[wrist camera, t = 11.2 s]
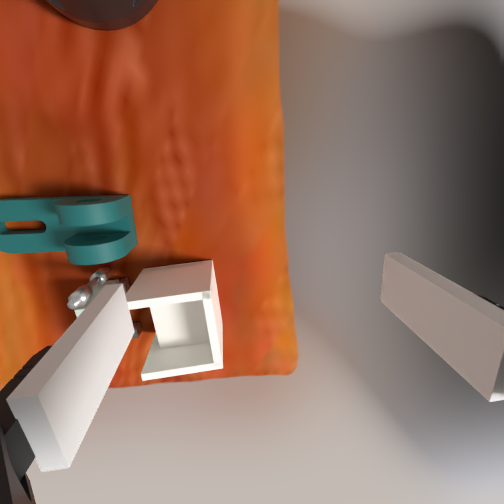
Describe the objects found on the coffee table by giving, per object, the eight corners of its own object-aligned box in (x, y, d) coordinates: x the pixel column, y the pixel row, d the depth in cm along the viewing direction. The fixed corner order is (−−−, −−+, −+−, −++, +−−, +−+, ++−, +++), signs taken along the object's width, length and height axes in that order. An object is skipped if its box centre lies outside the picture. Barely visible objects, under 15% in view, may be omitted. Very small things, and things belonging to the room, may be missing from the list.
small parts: (86, 266, 40) (45, 301, 30) (123, 261, 40) (93, 294, 31) (108, 334, 44) (77, 384, 34) (141, 329, 44) (120, 377, 34)
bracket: (130, 194, 37) (108, 204, 30) (138, 243, 40) (119, 263, 32) (-17, 198, 36) (-79, 210, 28) (0, 249, 38) (-54, 272, 31)
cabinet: (143, 268, 41) (120, 302, 31) (212, 259, 41) (210, 290, 32) (159, 332, 44) (142, 380, 35) (222, 323, 45) (222, 368, 36)
